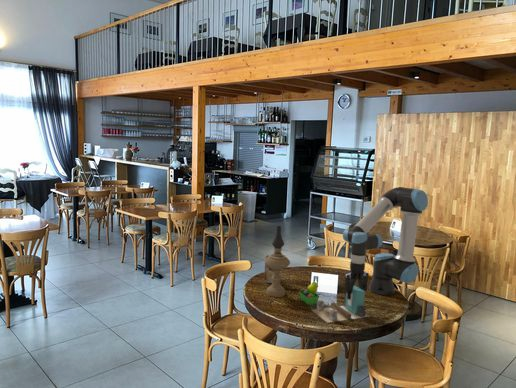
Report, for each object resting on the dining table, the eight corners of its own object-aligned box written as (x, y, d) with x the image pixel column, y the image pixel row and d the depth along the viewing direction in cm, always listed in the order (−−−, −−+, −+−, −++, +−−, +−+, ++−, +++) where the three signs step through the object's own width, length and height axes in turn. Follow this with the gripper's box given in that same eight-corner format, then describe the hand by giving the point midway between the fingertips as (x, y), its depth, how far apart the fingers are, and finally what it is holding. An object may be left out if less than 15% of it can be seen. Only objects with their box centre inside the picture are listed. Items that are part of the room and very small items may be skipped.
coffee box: (280, 281, 260) (281, 256, 258) (277, 284, 254) (279, 259, 252) (266, 279, 263) (267, 255, 261) (263, 282, 257) (264, 257, 255)
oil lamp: (283, 288, 248) (287, 223, 243) (292, 297, 234) (295, 229, 228) (260, 289, 244) (262, 224, 239) (266, 299, 230) (270, 229, 224)
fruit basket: (297, 299, 232) (298, 279, 230) (311, 297, 235) (312, 278, 233) (307, 306, 221) (308, 286, 220) (321, 305, 224) (322, 285, 223)
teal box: (353, 306, 222) (354, 285, 220) (363, 313, 213) (365, 291, 212) (345, 307, 220) (346, 286, 218) (355, 314, 211) (356, 292, 210)
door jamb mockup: (352, 305, 226) (353, 295, 225) (370, 317, 211) (371, 306, 210) (311, 310, 216) (311, 300, 215) (327, 323, 201) (327, 313, 201)
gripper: (367, 258, 220) (364, 299, 223) (338, 261, 213) (335, 303, 216) (376, 262, 213) (373, 305, 216) (346, 265, 206) (343, 309, 209)
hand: (354, 304), depth 216 cm, fingers open, 5 cm apart
